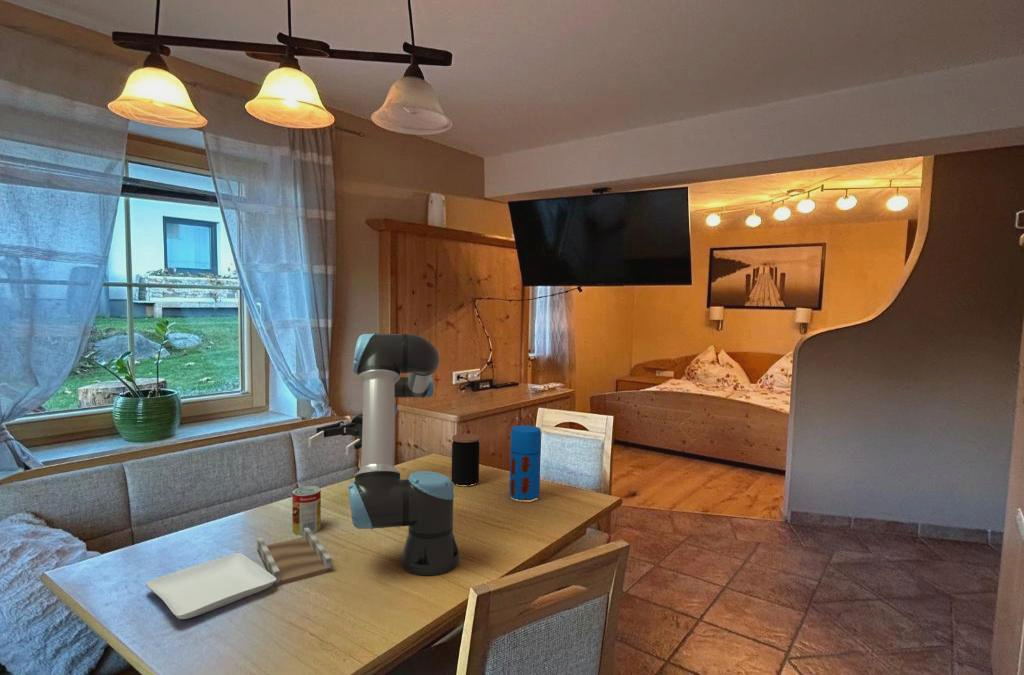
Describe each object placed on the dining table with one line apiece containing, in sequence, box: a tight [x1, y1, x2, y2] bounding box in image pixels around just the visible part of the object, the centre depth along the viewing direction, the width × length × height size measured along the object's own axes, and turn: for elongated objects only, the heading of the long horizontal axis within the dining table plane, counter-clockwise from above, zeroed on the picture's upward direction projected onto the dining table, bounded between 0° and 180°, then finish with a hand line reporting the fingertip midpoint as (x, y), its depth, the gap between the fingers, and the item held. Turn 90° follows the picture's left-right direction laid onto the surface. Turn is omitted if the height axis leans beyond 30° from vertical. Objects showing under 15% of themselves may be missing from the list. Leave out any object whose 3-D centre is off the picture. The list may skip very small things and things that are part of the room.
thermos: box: [509, 425, 542, 500], centre depth 188 cm, size 11×11×25 cm
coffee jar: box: [450, 433, 481, 485], centre depth 203 cm, size 11×11×18 cm
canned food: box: [291, 485, 322, 536], centre depth 157 cm, size 8×8×12 cm
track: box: [256, 528, 332, 587], centre depth 138 cm, size 22×13×4 cm, turn 35°
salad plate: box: [145, 552, 276, 620], centre depth 122 cm, size 21×21×3 cm
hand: (327, 446), depth 162 cm, fingers open, 13 cm apart
